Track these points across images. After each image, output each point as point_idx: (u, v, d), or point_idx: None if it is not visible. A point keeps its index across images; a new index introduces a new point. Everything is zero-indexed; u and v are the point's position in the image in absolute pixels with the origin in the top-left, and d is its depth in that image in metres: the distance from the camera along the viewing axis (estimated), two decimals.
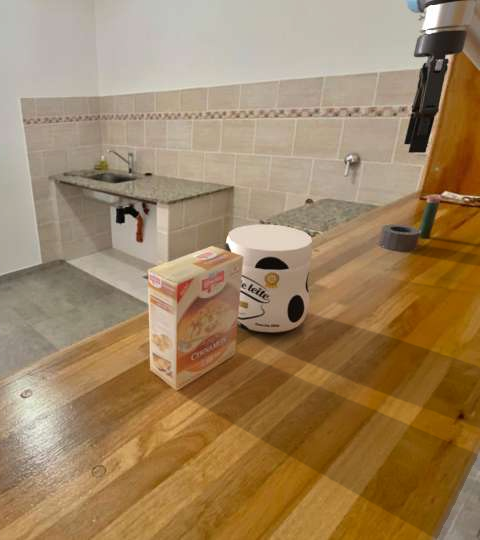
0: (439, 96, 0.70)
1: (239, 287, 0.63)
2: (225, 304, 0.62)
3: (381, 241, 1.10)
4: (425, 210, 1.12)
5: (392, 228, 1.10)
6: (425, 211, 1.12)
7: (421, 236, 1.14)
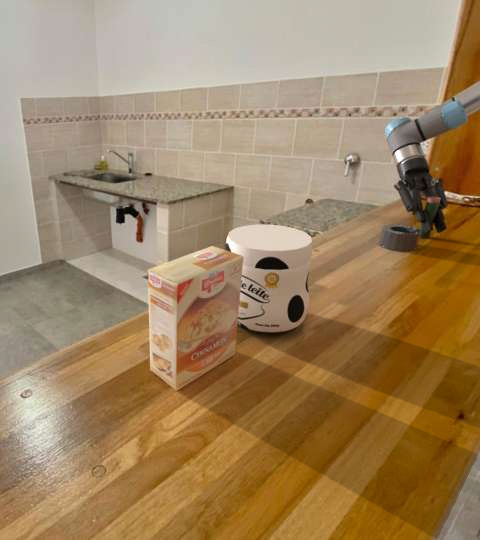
0: (408, 200, 1.13)
1: (239, 287, 0.63)
2: (225, 304, 0.62)
3: (381, 241, 1.10)
4: None
5: (392, 228, 1.10)
6: None
7: (421, 236, 1.14)
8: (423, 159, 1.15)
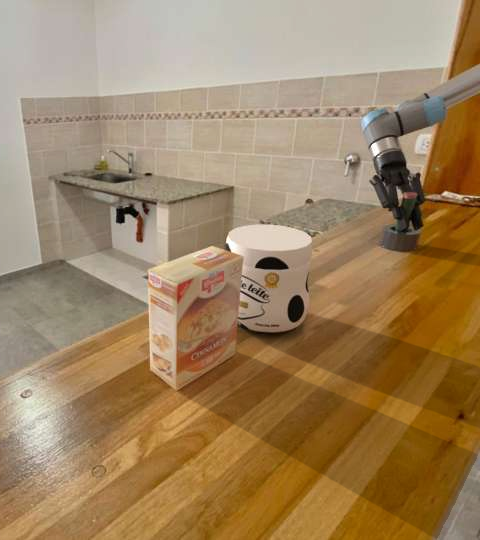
0: (383, 195, 1.07)
1: (239, 287, 0.63)
2: (225, 304, 0.62)
3: (381, 241, 1.10)
4: None
5: (392, 228, 1.10)
6: None
7: None
8: (400, 152, 1.08)
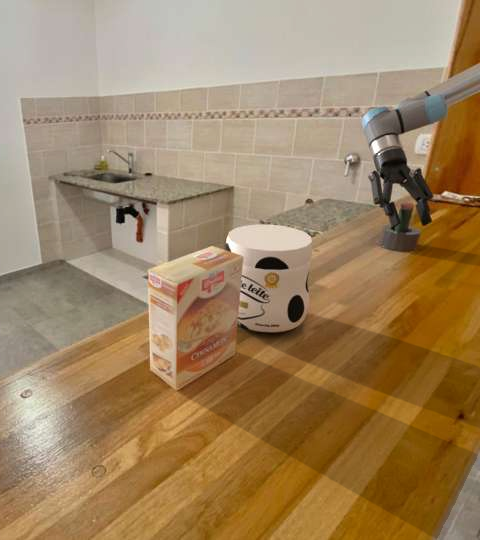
0: (377, 191, 1.07)
1: (239, 287, 0.63)
2: (225, 304, 0.62)
3: (381, 241, 1.10)
4: None
5: (392, 228, 1.10)
6: None
7: None
8: (400, 150, 1.08)
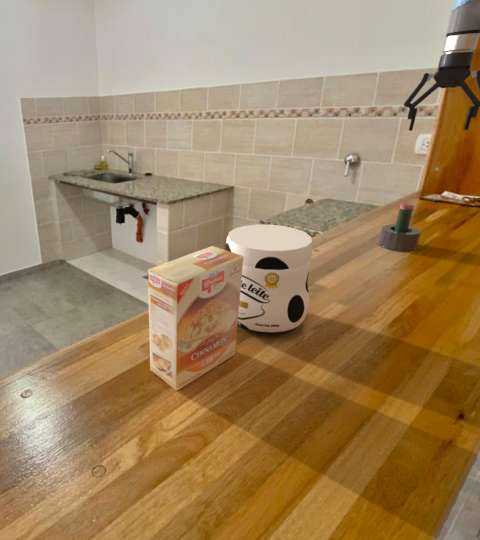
0: (410, 96, 1.19)
1: (239, 287, 0.63)
2: (225, 304, 0.62)
3: (381, 241, 1.10)
4: (398, 217, 1.07)
5: (392, 228, 1.10)
6: (398, 218, 1.07)
7: None
8: (463, 56, 1.08)
